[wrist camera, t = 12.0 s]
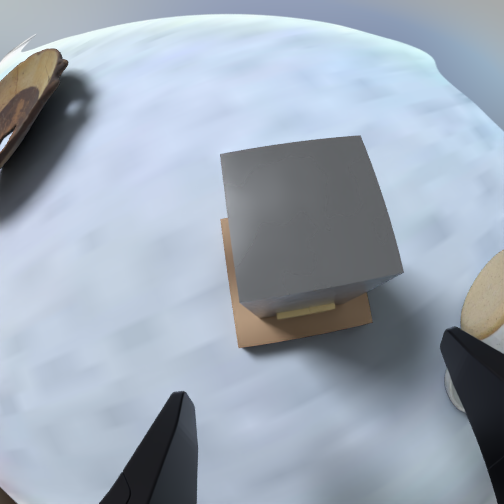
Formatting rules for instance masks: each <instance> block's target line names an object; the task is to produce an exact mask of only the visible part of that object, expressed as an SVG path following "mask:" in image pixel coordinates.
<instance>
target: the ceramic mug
mask: <svg viewBox="0 0 504 504" xmlns="http://www.w3.org/2000/svg"><path fill="white" fill-rule="evenodd" d="M461 329H462V330H463V331H465V332H467V333H469V334H470V335H472V336H474V337H476V338H477V339H479V340H481V341H483V342H484V343H486V344H488V345H489V346H491V347H493V348H495V349H496V350H498V351H500V352H501V353H503V354H504V250H502V251H501V252H499V253H498V254H496V255H495V256H494V257H493V258H492V259H491V260H490V261H489V262H488V263H487V264H486V266H485V267H484V268H483V269H482V270H481V272H480V273H479V275H478V276H477V278H476V279H475V281H474V283H473V284H472V286H471V288H470V290H469V292H468V294H467V296H466V299H465V302H464V305H463V308H462V312H461ZM445 387H446V391H447V394H448V395H449V398H450V400H451V401H452V403H453V404H454V406H455V407H457V408H458V409H459V410H460V411H463V412H465V410H464V408H463V405H462V403H461V401H460V399H459V396H458V394H457V392H456V390H455V388H454V385H453V383H452V380H451V377H450V375H449V372H448V369H446V372H445ZM465 413H466V412H465Z"/></svg>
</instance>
